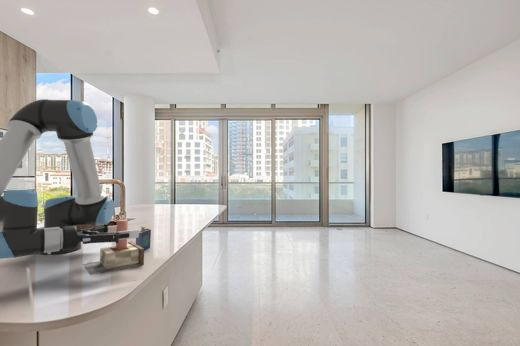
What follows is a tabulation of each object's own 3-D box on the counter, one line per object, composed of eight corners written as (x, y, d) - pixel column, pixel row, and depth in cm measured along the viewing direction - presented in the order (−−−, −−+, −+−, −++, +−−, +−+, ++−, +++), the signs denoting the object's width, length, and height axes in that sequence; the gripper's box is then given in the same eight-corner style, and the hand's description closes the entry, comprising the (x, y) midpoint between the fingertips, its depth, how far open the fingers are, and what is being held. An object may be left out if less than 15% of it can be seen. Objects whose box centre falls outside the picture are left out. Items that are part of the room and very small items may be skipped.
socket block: (99, 262, 96) (100, 248, 96) (129, 256, 103) (129, 243, 103) (106, 269, 89) (107, 254, 89) (138, 263, 95) (138, 249, 96)
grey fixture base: (82, 267, 94) (82, 248, 94) (131, 258, 105) (131, 241, 105) (90, 278, 84) (91, 257, 84) (143, 267, 95) (144, 248, 95)
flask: (139, 254, 110) (140, 228, 110) (132, 254, 110) (133, 228, 111) (151, 249, 119) (152, 225, 119) (145, 248, 120) (146, 224, 120)
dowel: (114, 258, 96) (115, 220, 96) (124, 257, 99) (126, 219, 99) (116, 261, 94) (118, 221, 94) (127, 259, 96) (129, 220, 96)
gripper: (56, 243, 94) (122, 235, 108) (66, 259, 75) (143, 247, 90) (57, 222, 94) (122, 216, 108) (66, 232, 75) (144, 224, 90)
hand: (132, 230), depth 99 cm, fingers open, 13 cm apart
